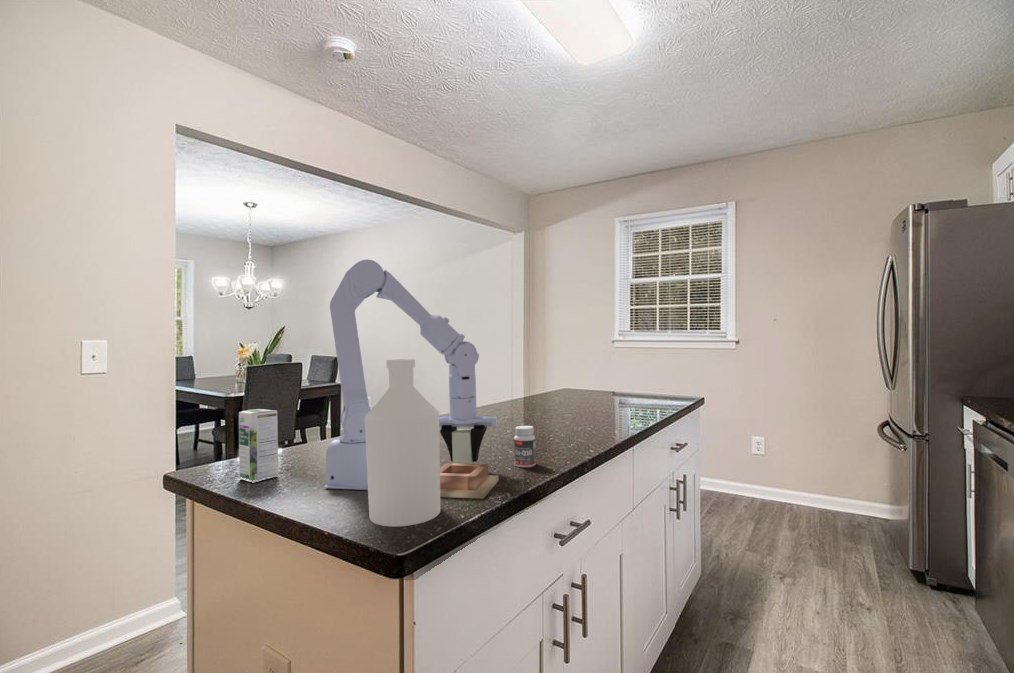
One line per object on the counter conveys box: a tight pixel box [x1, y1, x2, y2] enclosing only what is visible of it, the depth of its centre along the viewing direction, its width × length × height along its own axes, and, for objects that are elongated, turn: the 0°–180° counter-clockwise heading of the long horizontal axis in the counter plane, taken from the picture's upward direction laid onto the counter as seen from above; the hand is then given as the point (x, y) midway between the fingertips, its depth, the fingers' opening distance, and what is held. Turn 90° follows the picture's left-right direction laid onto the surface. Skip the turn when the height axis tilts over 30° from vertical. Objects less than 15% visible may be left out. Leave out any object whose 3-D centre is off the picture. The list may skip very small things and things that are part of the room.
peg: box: [452, 428, 477, 464], centre depth 105 cm, size 4×4×8 cm
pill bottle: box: [513, 425, 537, 468], centre depth 108 cm, size 5×5×8 cm
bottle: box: [365, 358, 441, 527], centre depth 80 cm, size 12×12×25 cm
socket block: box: [440, 462, 500, 500], centre depth 92 cm, size 12×11×4 cm
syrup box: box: [238, 408, 279, 481], centre depth 103 cm, size 6×6×14 cm
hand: (464, 460), depth 105 cm, fingers closed on peg, 4 cm apart
